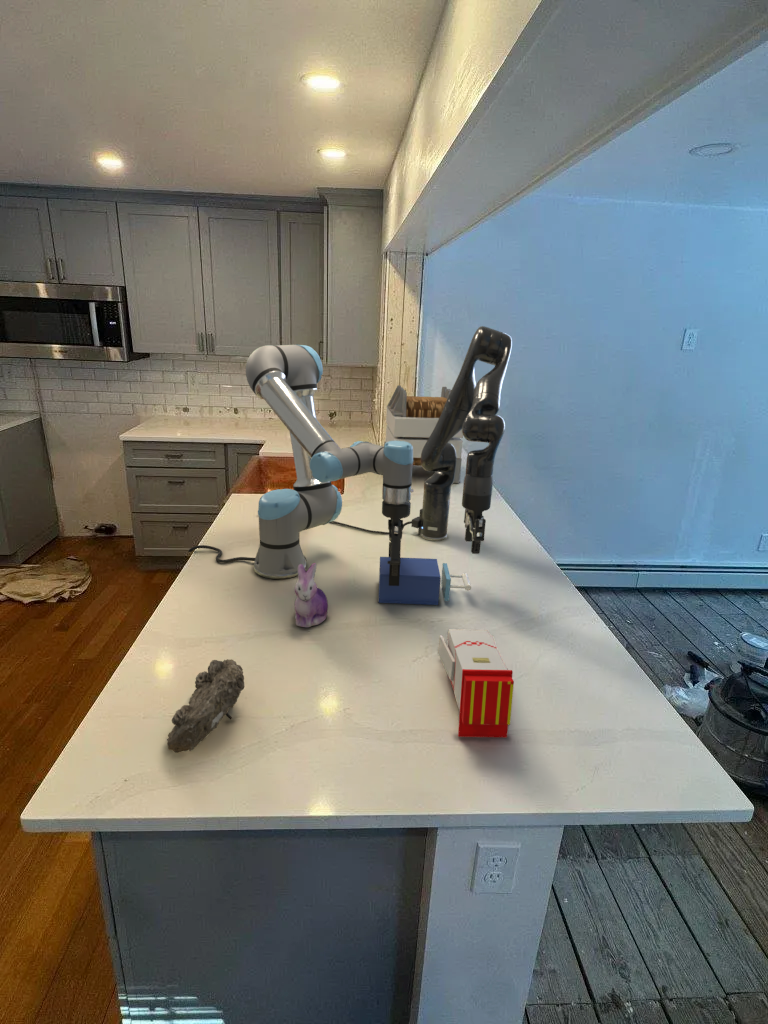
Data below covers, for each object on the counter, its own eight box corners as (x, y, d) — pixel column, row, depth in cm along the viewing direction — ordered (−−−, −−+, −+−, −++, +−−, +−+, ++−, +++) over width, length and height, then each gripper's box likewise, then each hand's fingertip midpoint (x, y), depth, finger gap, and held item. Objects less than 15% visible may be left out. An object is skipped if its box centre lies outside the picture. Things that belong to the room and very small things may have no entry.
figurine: (299, 632, 137) (299, 576, 132) (286, 613, 145) (285, 559, 140) (336, 624, 141) (336, 570, 136) (320, 605, 149) (321, 553, 144)
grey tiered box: (382, 463, 289) (386, 382, 275) (445, 464, 293) (451, 384, 279) (390, 482, 257) (394, 392, 243) (460, 483, 261) (468, 394, 247)
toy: (488, 613, 130) (523, 677, 101) (484, 667, 133) (517, 744, 104) (435, 612, 130) (455, 676, 101) (432, 666, 133) (451, 743, 103)
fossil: (192, 660, 117) (244, 628, 112) (224, 691, 120) (276, 661, 115) (142, 746, 98) (202, 712, 93) (182, 779, 101) (242, 748, 96)
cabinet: (434, 585, 164) (436, 558, 161) (438, 605, 153) (440, 576, 150) (378, 583, 163) (380, 556, 160) (378, 602, 153) (379, 574, 150)
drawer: (465, 584, 163) (467, 564, 161) (470, 602, 153) (473, 580, 151) (393, 582, 162) (394, 561, 160) (393, 599, 153) (395, 577, 151)
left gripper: (413, 517, 137) (409, 595, 144) (408, 487, 161) (405, 556, 168) (382, 516, 137) (379, 594, 144) (382, 486, 160) (380, 555, 167)
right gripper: (498, 499, 143) (491, 558, 148) (485, 482, 156) (479, 537, 162) (468, 498, 142) (463, 557, 148) (458, 482, 156) (453, 537, 161)
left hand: (393, 574), depth 156 cm, fingers open, 13 cm apart
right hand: (471, 547), depth 155 cm, fingers open, 8 cm apart
